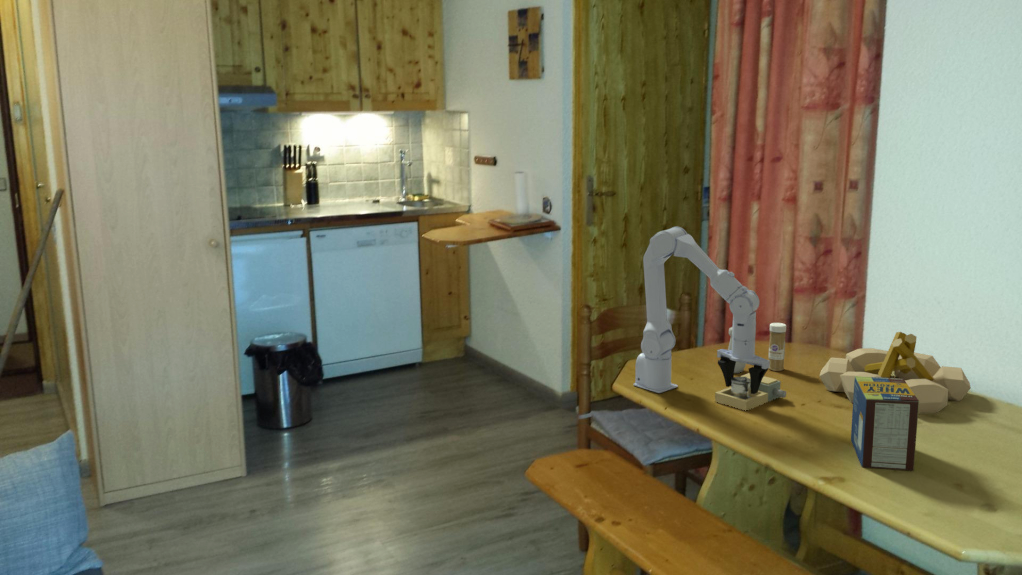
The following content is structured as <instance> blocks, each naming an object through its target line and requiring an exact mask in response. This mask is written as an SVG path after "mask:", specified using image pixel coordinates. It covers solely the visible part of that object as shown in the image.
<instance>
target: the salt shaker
mask: <svg viewBox="0 0 1022 575" xmlns="http://www.w3.org/2000/svg"><path fill="white" fill-rule="evenodd" d="M728 335H729V336H730V339H729V344H728V346H727V350H732V326H731V327H729V328H728ZM746 365H747V364H746V363H742V362H738V361H736V364H735V369H734V374H741V373H743V372H744V369H745V368H746ZM740 372H741V373H740Z"/></svg>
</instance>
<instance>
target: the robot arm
mask: <svg viewBox="0 0 1022 575" xmlns="http://www.w3.org/2000/svg"><path fill="white" fill-rule="evenodd" d="M672 256H673V257H677V258H679V257H680V258H686V259H687V260H689V261H690V262H691V263H692V264H694V266H695V267H697V268H698V269H699V270H700V271H701V272H702V273H703V274H704V275H706V276H707V278H709V282H710V283H709V284H710V286H711V288H712V289H713V290H715V292H716V293H718V295H719V296H720V297H721V298H722V299H724V301H725V302H726V303H727V304H728V306H729V310H730V312H731V313H732V326H731V327H732V350H728V349H724V348H721V349H717V351H716V352H717V353H716V354H717V355H716V358H718V359H719V360H717V365H718V367H719V368H720V370H721V373H722V375H723V377H724V383H725V387H726V388H729V387H731V378H733V377H734V376H735V373H734V369H735V364H736V361H738V362H742V363H746V365H750V366H752V367H749V368H748V373H750V379H751V394H755V393H758V390H759V386H760V383H761V381H762V379H763V377H764V376H765V374H766V373H767V372H768V370H769V369H768V368H769V367H770V360H769V359H766V358H763V357H761V356H759V355H756V353H755V352H756V349H755V348H756V329H757V322H756V321H757V318H756V317H757V310H758V309H759V307H760V298H759V296H758V295H757V293H756V292H755V291H754V290H752V289H751V290H750V289H749V287H747V286H744V284H742V283H741V282H740V281H739V280H738V279H737V278H736V277H735V273H734V272H733V271H729V270H727V269H721V268H719V267H718V266H717V265H716V263H715V262H714V261H713V260H712V258H710V257H709V256H708V254H706V252H705V251H704V250H703V249H702V247H700V245H699V244H698V243H697V242H696V240H695V239H694V238H693V236H692V235H691V234H690V233H688V232H687V230H685V229H684V228H683V227H680V226H673V227H670V228H668V229H665V230H661V231H658V232H656V233H655V234H654V235H653V236H652V237H651V238H650V239H649V244H648V246H647V249H646V251H645V253H644V254H643V258H642V259H643V262H642V263H643V274H644V275H643V276H644V289H645V290H644V293H645V305H646V321H647V322H646V325H645V327H644V329H643V332H642V335H643V336H642V337H643V338H642V340H641V343H640V350H641V353H640V354H638V356H637V358H636V361H635V373H634V374H635V382H634V383H632V384H633V386H634V387H638V388H640V389H644V390H647V391H651V392H653V393H658V394H661V393H664V392H667V391H670V390H673V389H675V388H677V387H678V386H679V385H678V384H676V383H672V349H673V348H674V347H675V345H676V337H675V336H676V335H674V332H673V330H672V324H671V322H670V321H669V320H668V312H667V311H668V310H667V297H666V296H667V294H666V280H665V278H666V276H665V262H666V261H667V260H668V259H670V258H671V257H672Z"/></svg>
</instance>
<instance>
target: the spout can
mask: <svg viewBox="0 0 1022 575" xmlns="http://www.w3.org/2000/svg"><path fill="white" fill-rule="evenodd" d="M730 387H731V396H734V397H738V398H741V399H744V400H746V399H749V395H750V379H749V378H747V377H740V376H735V377H733V378H731V386H730Z"/></svg>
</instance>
